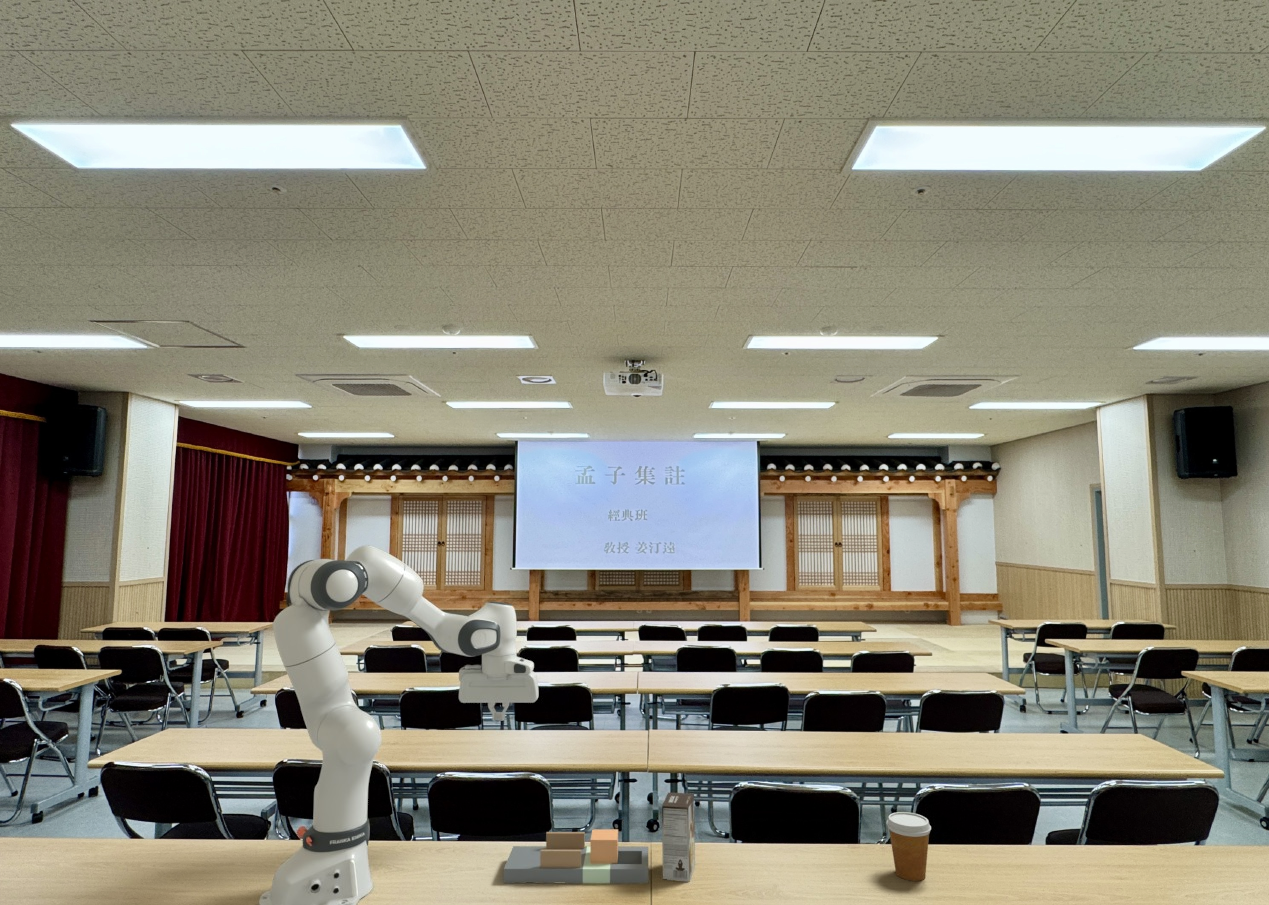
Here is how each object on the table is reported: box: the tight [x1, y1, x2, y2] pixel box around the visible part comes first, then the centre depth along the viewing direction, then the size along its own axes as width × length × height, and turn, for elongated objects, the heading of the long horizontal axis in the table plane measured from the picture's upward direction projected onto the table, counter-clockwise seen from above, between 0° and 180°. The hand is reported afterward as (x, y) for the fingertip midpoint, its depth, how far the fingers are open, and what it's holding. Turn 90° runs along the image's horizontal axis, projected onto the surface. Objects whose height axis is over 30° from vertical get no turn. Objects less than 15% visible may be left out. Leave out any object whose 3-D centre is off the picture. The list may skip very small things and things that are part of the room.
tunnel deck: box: [503, 831, 650, 884], centre depth 174 cm, size 32×12×6 cm, turn 89°
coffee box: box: [661, 792, 696, 883], centre depth 173 cm, size 9×6×16 cm
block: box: [590, 828, 619, 863], centre depth 174 cm, size 6×6×5 cm
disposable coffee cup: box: [886, 811, 932, 882], centre depth 171 cm, size 10×10×12 cm
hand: (498, 720), depth 195 cm, fingers closed
